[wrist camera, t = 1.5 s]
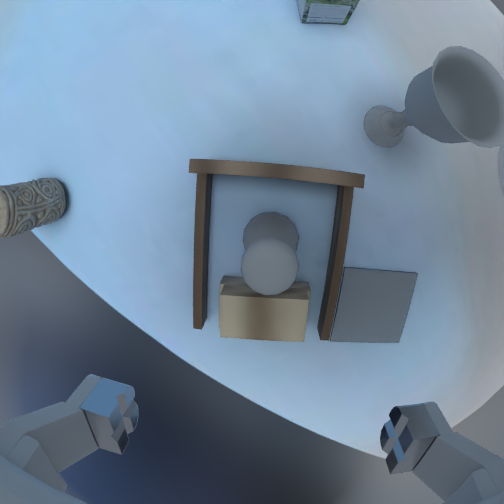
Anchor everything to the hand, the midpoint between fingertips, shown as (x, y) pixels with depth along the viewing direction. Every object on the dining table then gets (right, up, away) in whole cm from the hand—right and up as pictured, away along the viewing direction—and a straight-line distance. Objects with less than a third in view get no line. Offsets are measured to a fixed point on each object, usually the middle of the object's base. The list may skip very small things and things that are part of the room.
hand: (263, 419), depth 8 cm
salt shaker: (+2, +7, +26) cm, 27 cm away
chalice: (+15, +19, +22) cm, 33 cm away
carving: (-28, +12, +27) cm, 41 cm away
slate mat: (+15, -2, +27) cm, 31 cm away
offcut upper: (+1, -1, +26) cm, 26 cm away
